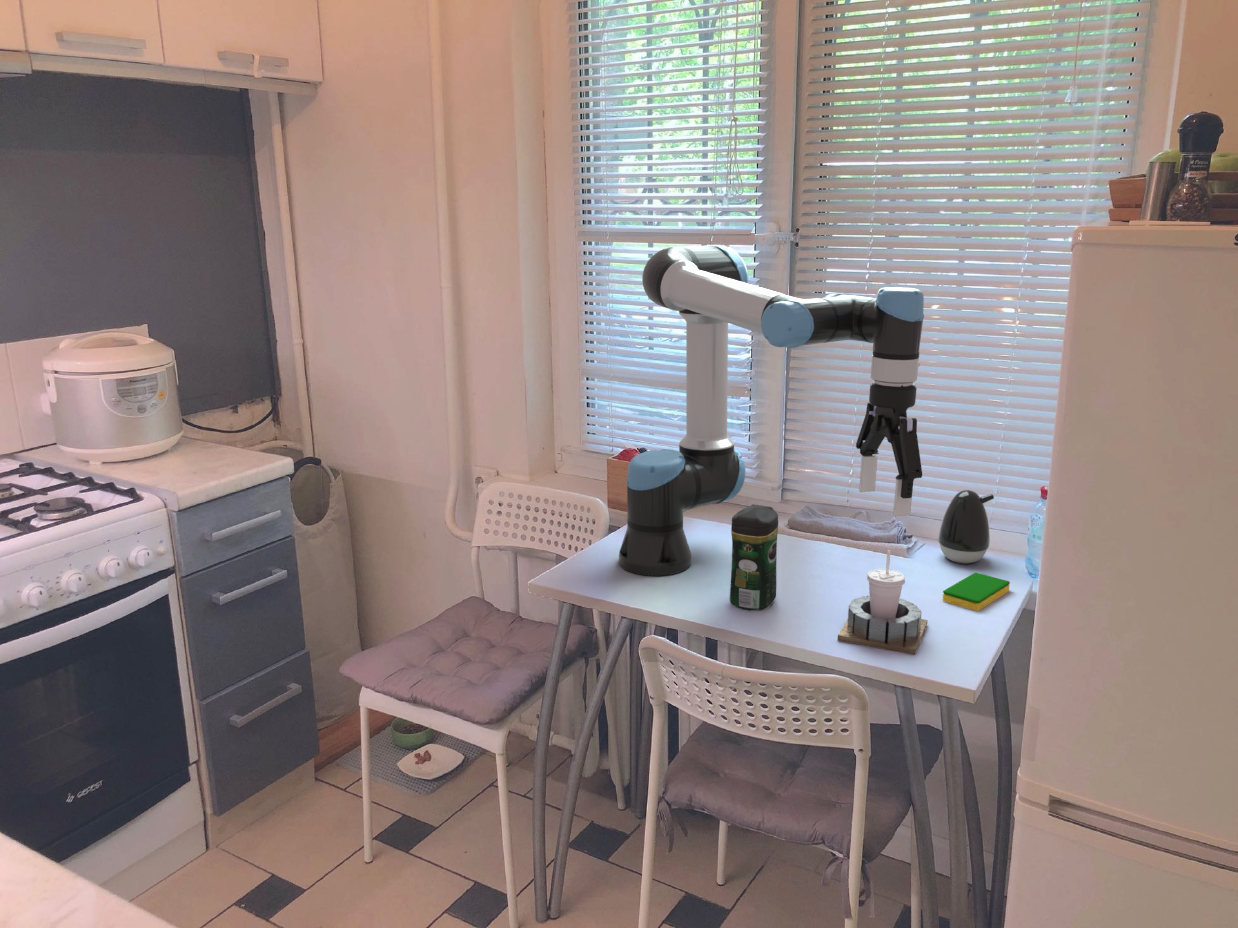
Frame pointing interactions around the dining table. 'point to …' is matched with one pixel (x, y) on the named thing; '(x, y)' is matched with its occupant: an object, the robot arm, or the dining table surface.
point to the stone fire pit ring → (884, 627)
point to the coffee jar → (754, 557)
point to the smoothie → (885, 590)
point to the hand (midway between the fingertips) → (883, 502)
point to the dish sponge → (976, 591)
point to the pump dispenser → (965, 528)
